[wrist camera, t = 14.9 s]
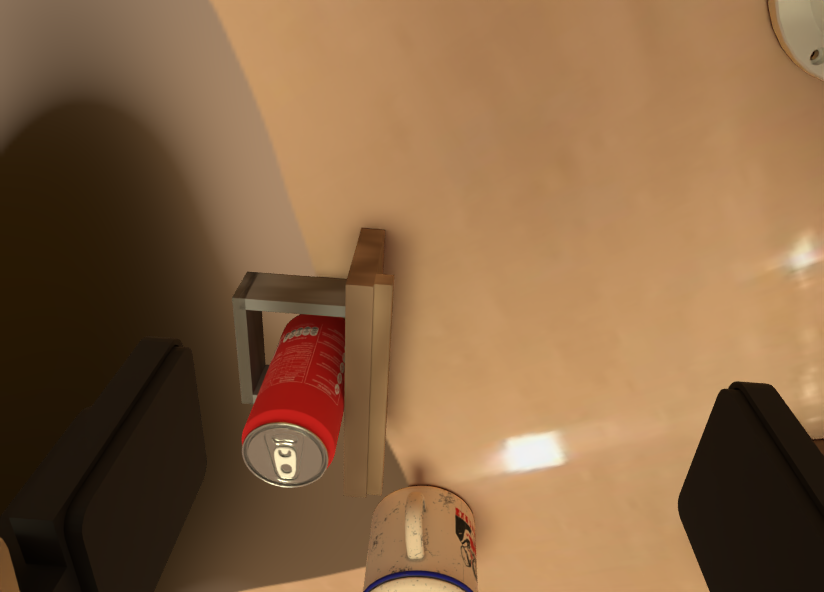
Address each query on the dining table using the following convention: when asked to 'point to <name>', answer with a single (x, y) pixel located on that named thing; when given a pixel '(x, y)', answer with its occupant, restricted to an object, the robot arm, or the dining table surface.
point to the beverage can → (299, 404)
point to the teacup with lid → (421, 543)
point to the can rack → (364, 347)
